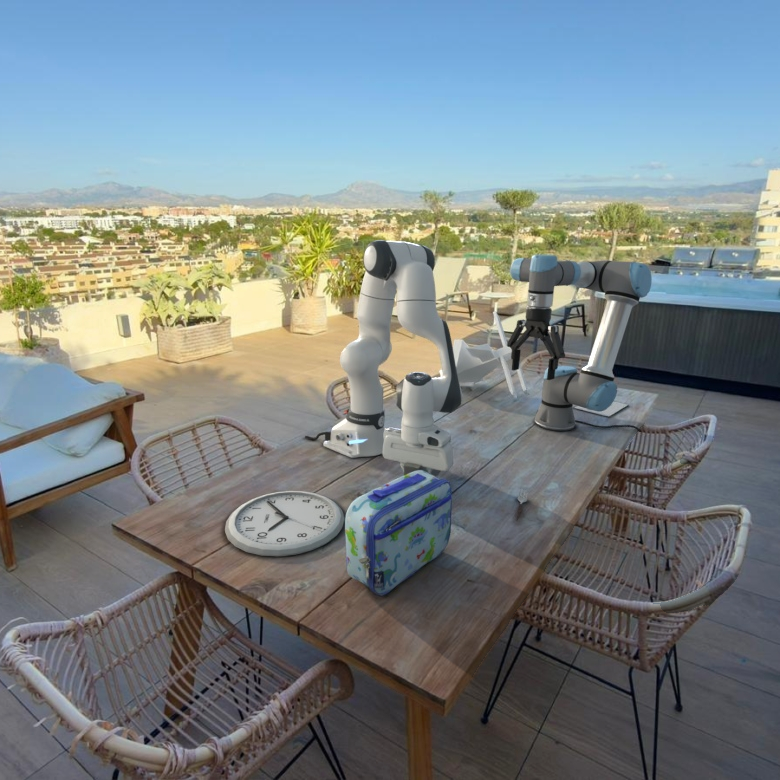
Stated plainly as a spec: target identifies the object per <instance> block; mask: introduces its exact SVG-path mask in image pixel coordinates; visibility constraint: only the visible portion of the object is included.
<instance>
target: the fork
mask: <svg viewBox="0 0 780 780" xmlns="http://www.w3.org/2000/svg"><path fill="white" fill-rule="evenodd" d="M526 490H527V488H525V489H521V487H519V492H518V495H517V501H518V502H519V505H518V507H517V508H516V509H517V510H516V521H518V520H519V518H520V515H521V513H522V511H523V503H526V502H527V501H528V495H529V490H527V491H526Z"/></svg>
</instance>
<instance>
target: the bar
mask: <svg viewBox="0 0 780 780" xmlns="http://www.w3.org/2000/svg"><path fill="white" fill-rule="evenodd" d="M451 438H452V437H451ZM451 438H450V440H449V441H448V442H450V443H451V442H452V441H451ZM417 470H422V471H425V472H428V471H426V467H422V465H418V464H413V463H409V462H407V463H406V464H404V471H403V476H404V475H407V474H409V473H411V472H414V471H417ZM441 472H442V471H440V470H435V469H433V471H432V472H431V475H433V476H435V477H437V476H439V474H440V473H441Z"/></svg>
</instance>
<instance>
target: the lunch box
mask: <svg viewBox="0 0 780 780" xmlns="http://www.w3.org/2000/svg"><path fill="white" fill-rule="evenodd" d="M452 503H453V501H452V484H451V483H450V481H449V480H448V479H445V478H438V477H437V476H436V477H435V476H433V475H431V474H429V473H427V472H425V471H422V470H417V471H414V472H411V473H409V474H407V475H404V474H403V475H402V476H399V477H398V478H396V479H393V480H391V481H388V482H387V483H385V484H382V485H381V486H379V487H377V488H373V489H372V490H370V491H368V492H367V493H363V494H362V495H360V496H358V497H356V498H355V499H354V500H353V501H352V502H351V503H350V504H349V506H348V508H347V511H346V513H345V516H344V535H345V561H346V571H347V574H348V576H349V577H350V578H352V579H354V580H356V581H358V582H359V583H361V584H363V585H364V586H366V587H367V588H369V590H370V591H371V592H372V593H374V594H376V595H378V596H385V595H386V594H389V593H390V592H391V591H392V590H393V589H395V588H396V587H397V586H398V585H400V584H401V583H402V582H404V581H405V580H407V579H409V578H410V577H411V576H412V575H414V574H415V573H416V572H418V571H419V570H420V569H421V568H422V567H424V566H425V565H427V564H428V563H430V562H431V561H433V560H435V559H436V558H438V557H440V556H441V554H442V553H443V552H444V551H445V549H446V548H447V546H448V543H449V540H450V537H451V533H452V532H451V531H452V511H453V510H452V509H453V508H452V507H453V504H452Z"/></svg>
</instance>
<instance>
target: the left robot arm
mask: <svg viewBox="0 0 780 780" xmlns="http://www.w3.org/2000/svg"><path fill="white" fill-rule="evenodd" d="M362 256H363V257H362V262H363V264H362V265H363V267H364V270H365V272H364V274H363V275H364V276H363V279H362V282H361V287H360V292H359V297H358V304H357V309H356V319H357V321H358V326H359V327H358V330H359V331H358V336H357V339H355V340H353V341H351V342H349V343H348V344H347V345H346V346H345V347H344V348H343V350H342V351H341V352H340V355H339V356H340V357H339V363H340V366H341V368H342V370H343V371H344V372H345V373H346V376H347V380H348V384H349V395H350V397H349V398H350V399H349V400H350V405H349V406H350V407H349V408H347V409H346V410H344V411H343V415H346V417H345V418H343V419H342V420H341V421H339V422H338V423H336V424H335V425H334V426H332V425H331V426H330V427H328V428H327V429H326V430H325V431H322V432H319V433H318V434H316V436H315V437H312V436H308V435H305V436H304V439H307V440H311V441H316V440H318V439H319V438H320V437H321V436H324V441H323V447H324V448H327V449H329V450H331V451H334V452H336V453H338V454H341V455H343V456H346V457H349V458H352V459H354V458H355V459H356V458H361V457H363V458H364V457H375V456H379V455H382V457H383V458H384V459H385V460H388V461H394V462H399V466H400V468H401V470H402V472H404V464H406V463H407V462H409V463H413V464H418V465H422V467H426V471H428V472H427V473H429V474H431V472H432V471H433V469H435V470H440V471H441V472H449V471H450V469H452V467H453V466H454V450H453V445H452V444H451V442H448V441H449V440H450V438H452V436H451V433H450V432H449V431H447V430H445V429H443V428H441V427H439V426H438V425H436V424H435V420H434V415H433V413H434V412H438V413H447V414H452V413H453V412H455V411H456V410H457V409H458V408H459V407H461V405H462V401H463V391H462V387H461V383H459V381H458V376H457V370H456V364H455V359H454V353H453V342H452V337H451V331H450V328H449V325H448V323H447V321H445V320H444V319H442V318H441V316H440V314H439V312H438V309H437V296H436V295H437V293H436V292H437V291H436V283H435V277H434V272H433V271H434V269H435V265H436V262H435V261H436V258H435V255H434V252H433V250H432V249H431V248H430V247H427V246H426V245H423V244H416V243H412V242H408V241H404V240H403V241H402V240H401V241H397V240H384V239H378V240H373V241H370V242H369V243H368V244H367V246H366V247H365V249H364V252H363V255H362ZM395 301H396V314H397V315H396V316H397V321H398V323H399V325H401V327H402V328H403V329H404V330H406V331H407V332H409V333H411V334H412V335H415V336H418V337H420V338H423V339H426V340H428V341H430V342H431V343H433V344H434V345H435V346H436V348H437V350H438V355H439V361H440V368H441V369H442V374H443V375H442V377H441V376H440V377H432V376H431V375H430V374H428V373H426V372H422V371H414V372H410V373H407V374H406V375H405V376H404V378H403V379H402V380H401V381H399V382H398V384H397V385H396V387H395V390H396V403H395V405H396V407H397V408H398V409H399V410H400V411H401V412H402V416H401V417H402V418H401V419H400V421H401V423H400V424H401V425H400V427H401V428H394V427H391V426H390V427H389V426H388V427H387V428H385V420H386V419H385V408H384V391H385V390H384V385H383V384H382V382H381V380H380V376H379V368H380V366H381V365H383V364H384V363H385V362H386V361H388V359H389V357H390V355H391V353H392V350H393V345H392V342H391V325H392V317H393V311H394V307H395Z"/></svg>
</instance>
